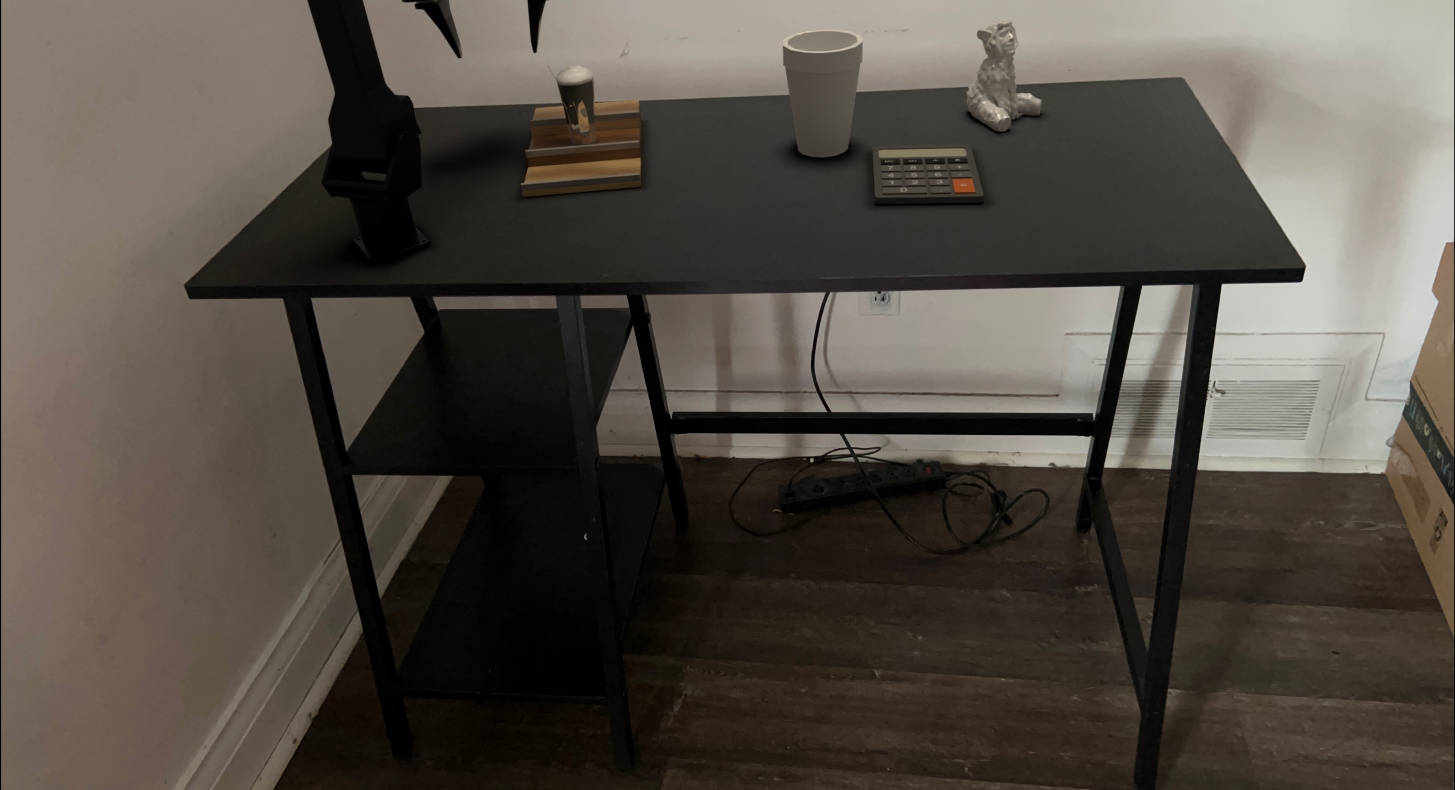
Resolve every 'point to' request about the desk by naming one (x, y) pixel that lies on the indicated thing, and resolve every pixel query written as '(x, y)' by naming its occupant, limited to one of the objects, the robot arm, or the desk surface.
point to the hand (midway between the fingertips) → (497, 55)
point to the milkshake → (578, 103)
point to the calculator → (925, 174)
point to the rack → (584, 152)
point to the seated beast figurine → (999, 81)
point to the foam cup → (822, 88)
